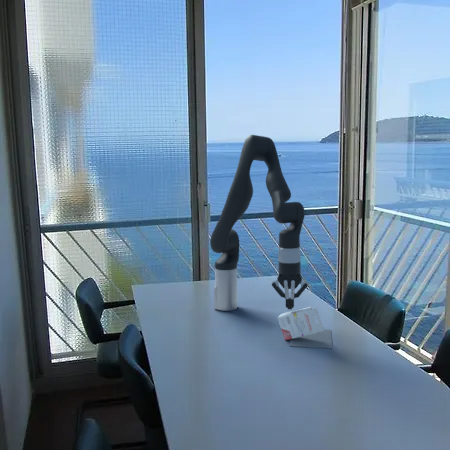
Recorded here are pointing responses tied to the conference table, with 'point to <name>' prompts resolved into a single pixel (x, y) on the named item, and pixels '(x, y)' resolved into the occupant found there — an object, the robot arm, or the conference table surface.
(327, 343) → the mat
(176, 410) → the conference table surface
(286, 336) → the ink cartridge box
